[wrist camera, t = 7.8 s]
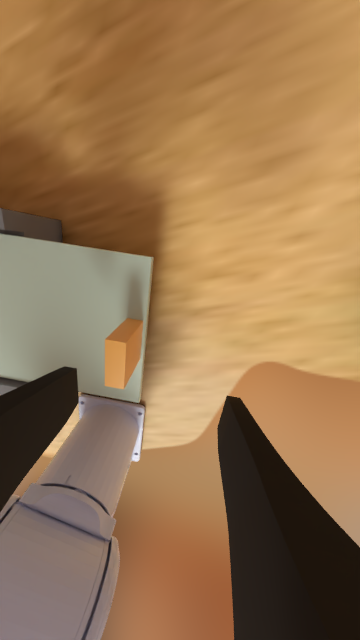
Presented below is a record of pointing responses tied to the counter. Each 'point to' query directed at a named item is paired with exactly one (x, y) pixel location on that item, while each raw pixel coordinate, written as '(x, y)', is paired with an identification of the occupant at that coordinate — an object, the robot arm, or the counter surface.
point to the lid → (74, 314)
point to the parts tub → (30, 228)
